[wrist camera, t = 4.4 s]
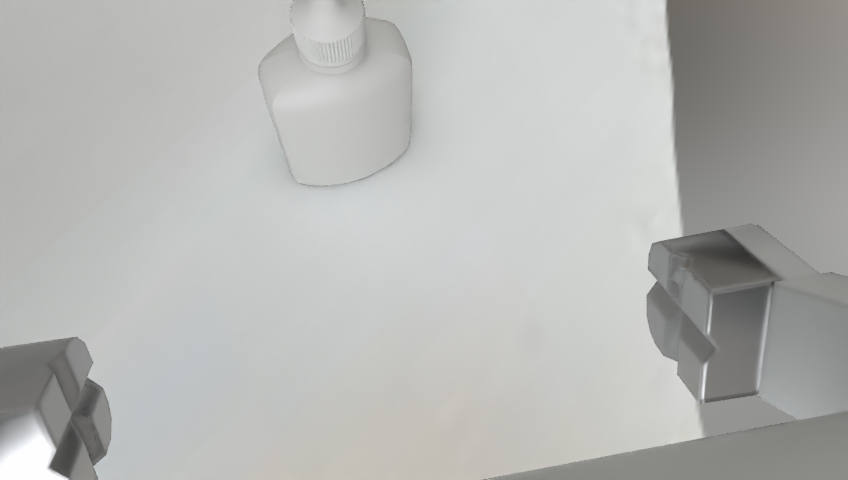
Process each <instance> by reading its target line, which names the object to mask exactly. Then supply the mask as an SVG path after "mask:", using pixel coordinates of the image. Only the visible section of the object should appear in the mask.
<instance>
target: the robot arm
mask: <svg viewBox="0 0 848 480" xmlns="http://www.w3.org/2000/svg"><path fill="white" fill-rule="evenodd" d="M648 270H649V271H650V272H651V273H652V275H653V276H654V277H655V278H656V279H657V282H656V283H655V285H654V286H653V287H652V289H651V290H650V291H649V293H648V294H647V319H648V324H649V328H650V333H651V335H652V337H653V340H654V342H655V344H656V346H657V347H658V349H659V350H660V351H661V353H662V354H663V356H666V357H668V358H670V359H673V360H675V361H677V362H678V370H677V375H678V376H679V377H680V379H681V380H682V381H683V383H684V384H685V385H686V387H687V388H688V389H689V391H690V392H691V393H692V395H693V396H694V397H695V399H696V400H697V401H698V403H699V404H702V403H708V402H714V401H721V400H727V399H733V398H740V397H746V396H753V395H759V396H758V397H759V398H760V399H762V400H764V401H766V402H768V403H770V404H771V405H773V406H775V407H777V408H779V409H780V410H782V411H784V412H786V413H788V414H789V415H791V416H793V417H795V418H797V419H798V420H796V421H791V422H786V423H781V424H775V425H770V426H765V427H759V428H754V429H749V430H744V431H738V432H733V433H727V434H722V435H717V436H711V437H706V438H701V439H695V440H690V441H685V442H680V443H674V444H669V445H664V446H658V447H653V448H648V449H642V450H637V451H632V452H627V453H621V454H616V455H611V456H605V457H600V458H595V459H590V460H584V461H579V462H574V463H568V464H563V465H558V466H552V467H547V468H542V469H537V470H531V471H526V472H521V473H515V474H510V475H505V476H499V477H494V478H489V479H484V480H848V277H847V276H843V275H840V274H836V273H832V272H829V273H823V274H820V273H819V272H817V271H816V270H815V269H814V268H812V267H811V266H810V265H808V264H807V263H806V262H805V261H804V260H802V259H801V258H800V257H799V256H797V255H796V254H795V253H793V252H792V251H791V250H790V249H788V248H787V247H786V246H784V245H783V244H782V243H781V242H779V241H778V240H777V239H776V238H774V237H773V236H772V235H770V234H769V233H768V232H767V231H765V230H764V229H763V228H761V227H760V226H759V225H754V224H747V225H742V226H737V227H732V228H728V229H722V230H717V231H712V232H706V233H701V234H696V235H691V236H685V237H680V238H675V239H670V240H664V241H659V242H656V243H652V246H651V249H650V252H649V260H648ZM92 364H93V361H92V358H91V356H90V354H89V351H88V349H87V347H86V344H85V342H83V341H82V340H81V339H79V338H78V337H71V338H64V339H57V340H51V341H44V342H37V343H30V344H23V345H16V346H9V347H4V348H0V480H98V477H97V475H96V472H95V470H94V467H93V466H94V465H95V464H96V463H97V462H99V461H100V460H101V459H102V458H103V457H104V456H105V455H106V454H107V450H108V447H109V444H110V440H111V414H110V408H109V403H108V400H107V397H106V395H105V392H104V389H103V388H102V387H101V386H99V385H98V384H96V383H95V382H93V381H92V380H90V379H89V378H87V376H88V374H89V371H90V369H91V366H92Z"/></svg>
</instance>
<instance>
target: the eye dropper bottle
mask: <svg viewBox="0 0 848 480" xmlns="http://www.w3.org/2000/svg"><path fill="white" fill-rule="evenodd" d="M291 5H292V6H291V7H290V8H291V9H290V20H291V24H292V29H293V34H292V35H290V36H289V37H287V38H286V39H285V40H283V41H282V42H281V43H279V44H278V45H277V46H276V47H275V48H273V49H272V50H271V51H270V52H269V53H268V54H267V55H266V56H265V57H264V58H263V60H262V61H261V63H260V65H259V70H258V75H259V80H260V84H261V87H262V91H263V94H264V97H265V100H266V103H267V106H268V109H269V112H270V115H271V118H272V121H273V124H274V127H275V129H276V132H277V135H278V138H279V141H280V144H281V147H282V150H283V153H284V155H285V158H286V161H287V164H288V167H289V170H290V172H291V174H292V176H293V177H294V179H295V180H296V181H297V182H300V183H302V184H305V185H317V186H322V185H336V184H343V183H348V182H352V181H356V180H359V179H362V178H365V177H367V176H369V175H372V174H374V173H376V172H378V171H380V170H381V169H383V168H385V167H386V166H388V165H389V164H391V163H392V162H394V161H395V160H396V159H397V158H399V157H400V156H401V155H402V154H403V153H404V152H405V151H406V149H407V148H408V146H409V144H410V129H411V104H412V61H411V57H410V54H409V51H408V48H407V46H406V43H405V41H404V39H403V37H402V35H401V33H400V31H399V29H398V28H397V27H396V26H395V25H394V24H392V23H390V22H388V21H385V20H380V19H375V18H367V17H365V8H364V4H363V1H362V0H293V3H292V4H291Z"/></svg>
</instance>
